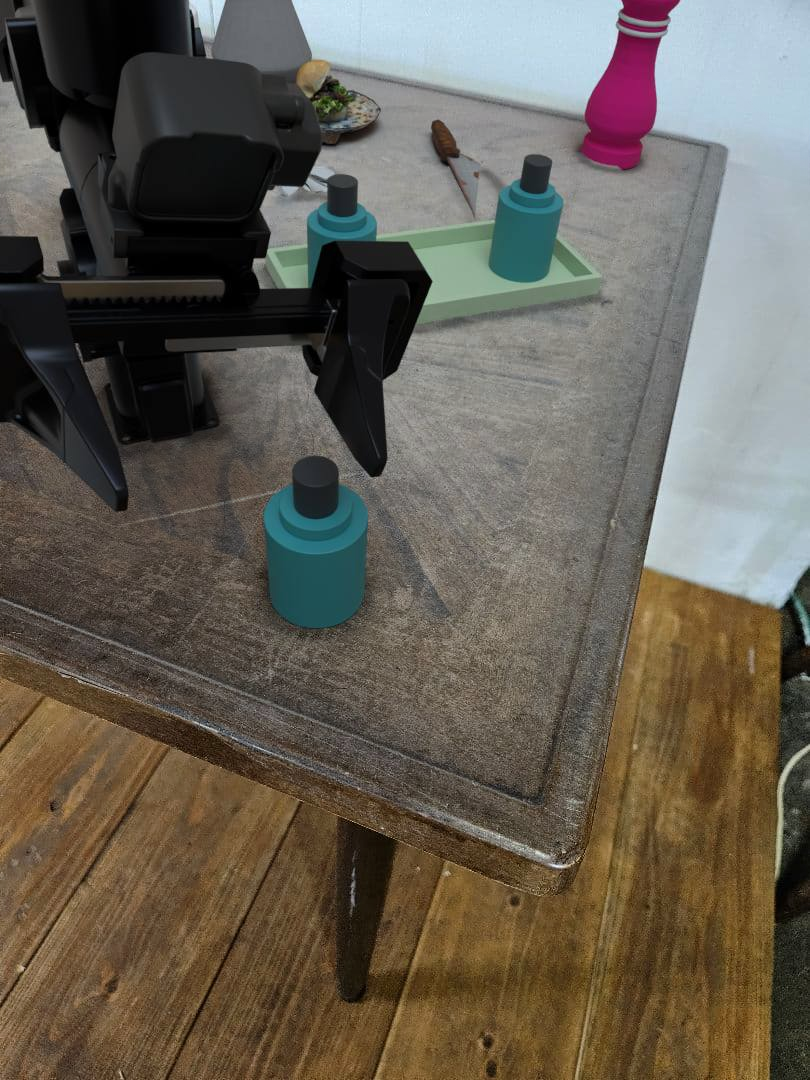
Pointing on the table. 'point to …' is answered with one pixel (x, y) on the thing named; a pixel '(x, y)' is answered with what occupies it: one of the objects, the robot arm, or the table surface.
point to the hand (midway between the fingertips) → (260, 485)
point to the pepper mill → (627, 86)
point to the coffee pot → (262, 37)
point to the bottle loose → (316, 546)
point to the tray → (461, 271)
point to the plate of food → (334, 101)
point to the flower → (313, 180)
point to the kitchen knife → (457, 162)
